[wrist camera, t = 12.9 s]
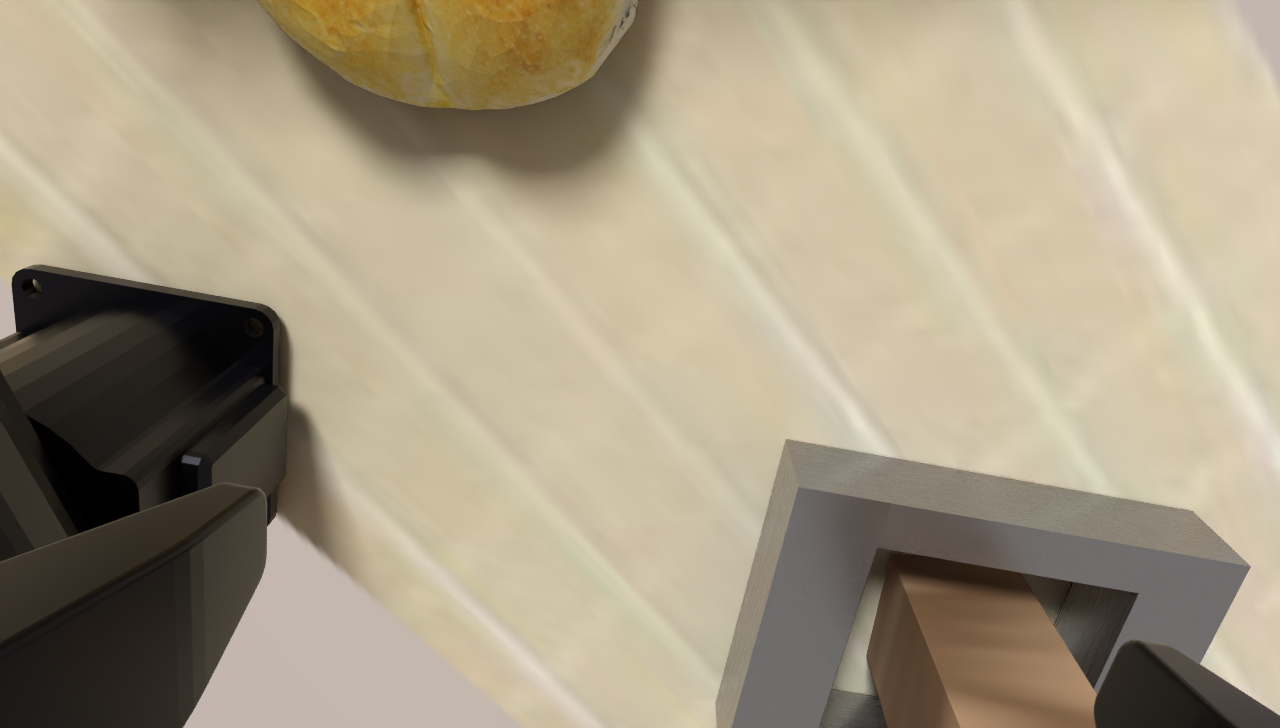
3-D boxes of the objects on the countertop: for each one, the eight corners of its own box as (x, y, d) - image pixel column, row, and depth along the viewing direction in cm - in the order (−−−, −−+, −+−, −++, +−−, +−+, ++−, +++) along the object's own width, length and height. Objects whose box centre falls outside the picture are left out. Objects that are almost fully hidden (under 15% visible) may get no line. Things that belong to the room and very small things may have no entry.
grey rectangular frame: (715, 703, 26) (719, 770, 24) (786, 439, 23) (798, 486, 20) (1071, 763, 26) (1109, 835, 24) (1192, 511, 23) (1250, 566, 21)
